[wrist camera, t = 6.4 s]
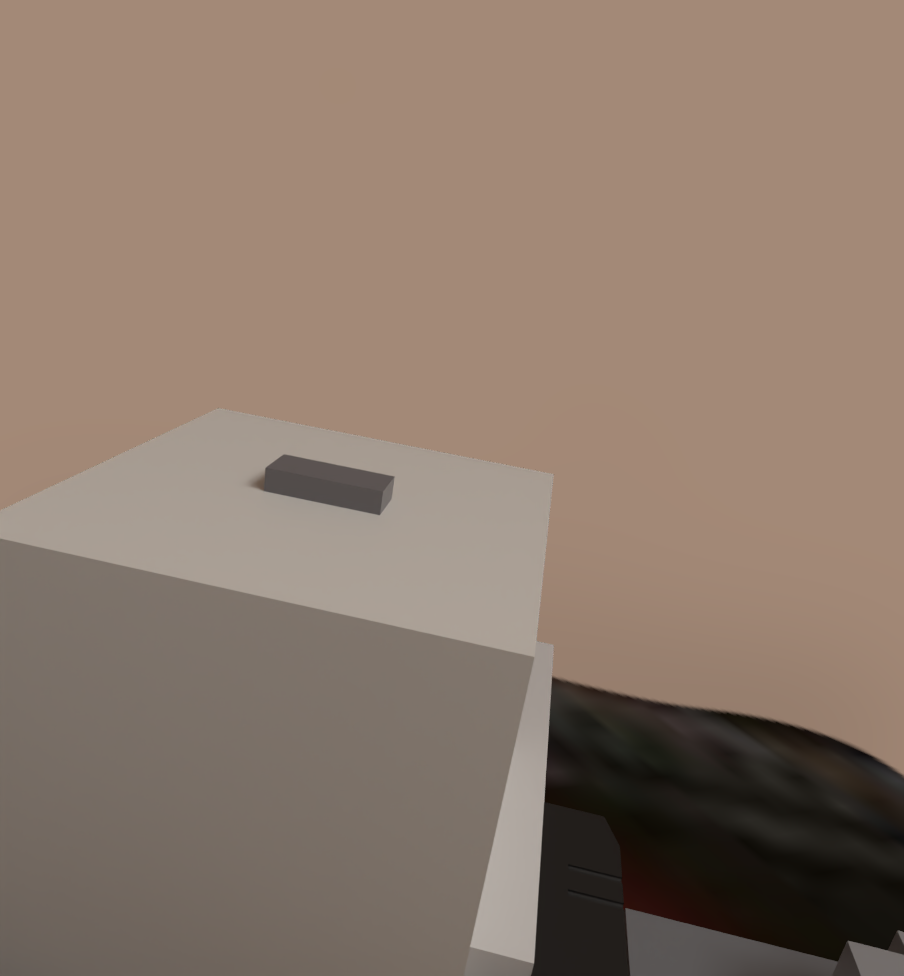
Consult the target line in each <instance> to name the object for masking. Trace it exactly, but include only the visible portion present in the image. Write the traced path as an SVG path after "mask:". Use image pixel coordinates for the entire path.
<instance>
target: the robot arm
mask: <svg viewBox="0 0 904 976" xmlns="http://www.w3.org/2000/svg"><path fill="white" fill-rule="evenodd" d="M553 649H554V645H552V644H547V643H542V642H538V641H536V649H535V658H534V662H533V667H532V671H531V675H530V680H529V684H528V689H527V693H526V698H525V702H524V707H523V711H522V716H521V720H520V725H519V729H518V734H517V738H516V743H515V747H514V752H513V756H512V761H511V765H510V770H509V774H508V779H507V783H506V788H505V792H504V797H503V801H502V806H501V810H500V815H499V819H498V824H497V828H496V833H495V837H494V842H493V846H492V851H491V855H490V860H489V864H488V869H487V873H486V878H485V882H484V887H483V891H482V895H481V900H480V904H479V909H478V913H477V918H476V922H475V927H474V931H473V936H472V940H471V945H470V949H469V954H468V958H467V963H466V967H465V972H464V976H628V961H627V946H626V932H625V917H624V910H623V904H624V902H623V887H622V883H621V879H622V872H621V857H620V846H619V844H618V842H617V840H616V838H615V837H614V835H613V833H612V831H611V829H610V827H609V825H608V823H607V821H606V820H605V818H604V817H603V816H599V815H595V814H591V813H586V812H582V811H578V810H574V809H570V808H566V807H562V806H558V805H554V804H549V803H545V802H544V795H545V779H546V763H547V747H548V731H549V714H550V698H551V682H552V666H553Z"/></svg>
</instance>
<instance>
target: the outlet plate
mask: <svg viewBox="0 0 904 976" xmlns="http://www.w3.org/2000/svg"><path fill="white" fill-rule="evenodd" d="M624 917H625V932H626V946H627V961H628V976H904V932H901V931H897V932H896V934H895V936H894V938H893V940H892V943H891V945H890V947H889V949H888V951H887V950H883V949H879V948H875V947H871V946H867V945H863V944H859V943H855V942H851V941H847V943H846V945H845V948H844V950H843V952H842V954H841V956H840V959H839V961H838V962H836V961H832V960H828V959H824V958H820V957H816V956H812V955H809V954H805V953H801V952H797V951H793V950H789V949H785V948H781V947H777V946H773V945H769V944H765V943H761V942H757V941H753V940H749V939H745V938H741V937H737V936H733V935H729V934H726V933H722V932H718V931H714V930H710V929H706V928H702V927H698V926H694V925H690V924H686V923H682V922H678V921H674V920H670V919H666V918H662V917H658V916H654V915H650V914H646V913H642V912H639V911H635V910H631V909H627V908H625V911H624Z"/></svg>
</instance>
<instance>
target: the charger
mask: <svg viewBox="0 0 904 976" xmlns="http://www.w3.org/2000/svg"><path fill="white" fill-rule="evenodd" d="M553 476H554V475H553V474H549V473H545V472H539V471H534V470H529V469H524V468H519V467H514V466H509V465H504V464H499V463H494V462H488V461H484V460H479V459H474V458H468V457H464V456H459V455H453V454H449V453H444V452H438V451H433V450H428V449H423V448H418V447H413V446H407V445H403V444H398V443H393V442H388V441H382V440H378V439H373V438H368V437H362V436H358V435H352V434H347V433H342V432H337V431H332V430H327V429H322V428H317V427H312V426H307V425H302V424H297V423H292V422H287V421H281V420H276V419H271V418H266V417H261V416H256V415H251V414H246V413H241V412H235V411H231V410H226V409H220V408H218V409H215V410H213V411H211V412H209V413H207V414H205V415H203V416H201V417H198V418H196V419H194V420H192V421H190V422H188V423H186V424H183V425H181V426H179V427H177V428H175V429H173V430H171V431H169V432H166V433H164V434H162V435H160V436H158V437H156V438H154V439H151V440H149V441H147V442H145V443H143V444H141V445H139V446H137V447H135V448H132V449H131V450H128V451H126V452H124V453H122V454H120V455H117V456H115V457H113V458H111V459H109V460H107V461H105V462H102V463H101V464H98V465H96V466H94V467H92V468H90V469H88V470H85V471H83V472H81V473H79V474H77V475H75V476H73V477H71V478H68V479H66V480H64V481H62V482H60V483H58V484H56V485H54V486H51V487H49V488H47V489H45V490H43V491H41V492H39V493H36V494H34V495H32V496H30V497H28V498H26V499H24V500H22V501H19V502H17V503H15V504H13V505H11V506H9V507H7V508H4V509H2V510H0V976H464V972H465V967H466V963H467V958H468V954H469V949H470V945H471V940H472V936H473V931H474V927H475V922H476V918H477V913H478V909H479V904H480V900H481V895H482V891H483V887H484V882H485V878H486V873H487V869H488V864H489V860H490V855H491V851H492V846H493V842H494V837H495V833H496V828H497V824H498V819H499V815H500V810H501V806H502V801H503V797H504V792H505V788H506V783H507V779H508V774H509V770H510V765H511V761H512V756H513V752H514V747H515V743H516V738H517V734H518V729H519V725H520V720H521V716H522V711H523V707H524V702H525V698H526V693H527V689H528V684H529V680H530V675H531V671H532V667H533V662H534V658H535V649H536V639H537V629H538V620H539V610H540V600H541V591H542V582H543V571H544V562H545V553H546V543H547V533H548V523H549V514H550V504H551V495H552V486H553V485H552V484H553Z"/></svg>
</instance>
